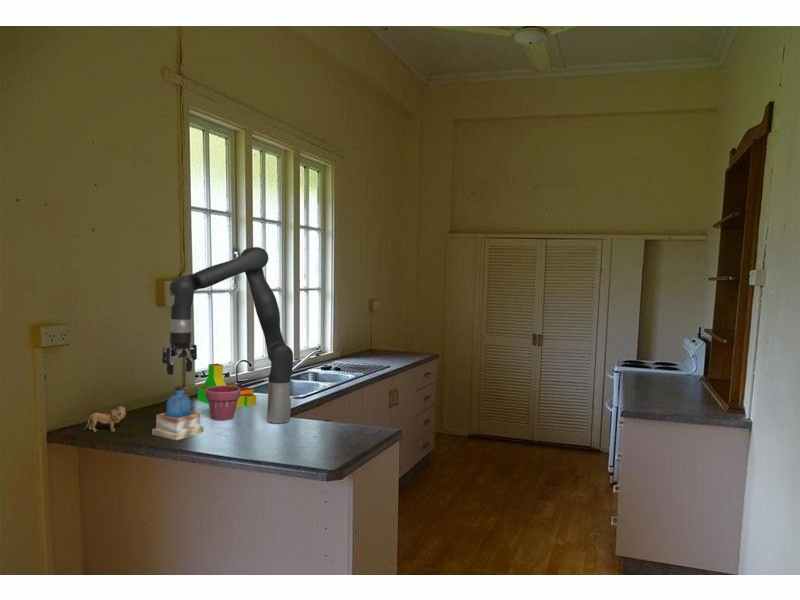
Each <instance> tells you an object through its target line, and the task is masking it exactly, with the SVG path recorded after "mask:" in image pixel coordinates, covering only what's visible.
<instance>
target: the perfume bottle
mask: <svg viewBox="0 0 800 600" xmlns="http://www.w3.org/2000/svg"><path fill="white" fill-rule="evenodd" d="M174 388H175V389H174V395H171V396H170V398H168V400H167V401H166V412H167V414H166V416H169V417H173V418H181V417H184V416H188V415H191V412H192V400H191V399H190V397H189V396H188V395H187V394H184V393H185V389H184V388H185V387H184V386H182V385H179V386H178V385H177V386H176V385H175V386H174Z"/></svg>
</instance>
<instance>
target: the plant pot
mask: <svg viewBox="0 0 800 600" xmlns="http://www.w3.org/2000/svg"><path fill="white" fill-rule="evenodd" d="M240 388H241V387H239V386H237V385H236V386H214V387H210V388H207V389H206V399H208V403H209V404H208V408H209V412H210V418H211V419H212V420H213V421H218V420H219V421H229V420H232V419H234V417H235V412H236V410H237V408H236V406H237V402H238V398H240Z"/></svg>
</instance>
